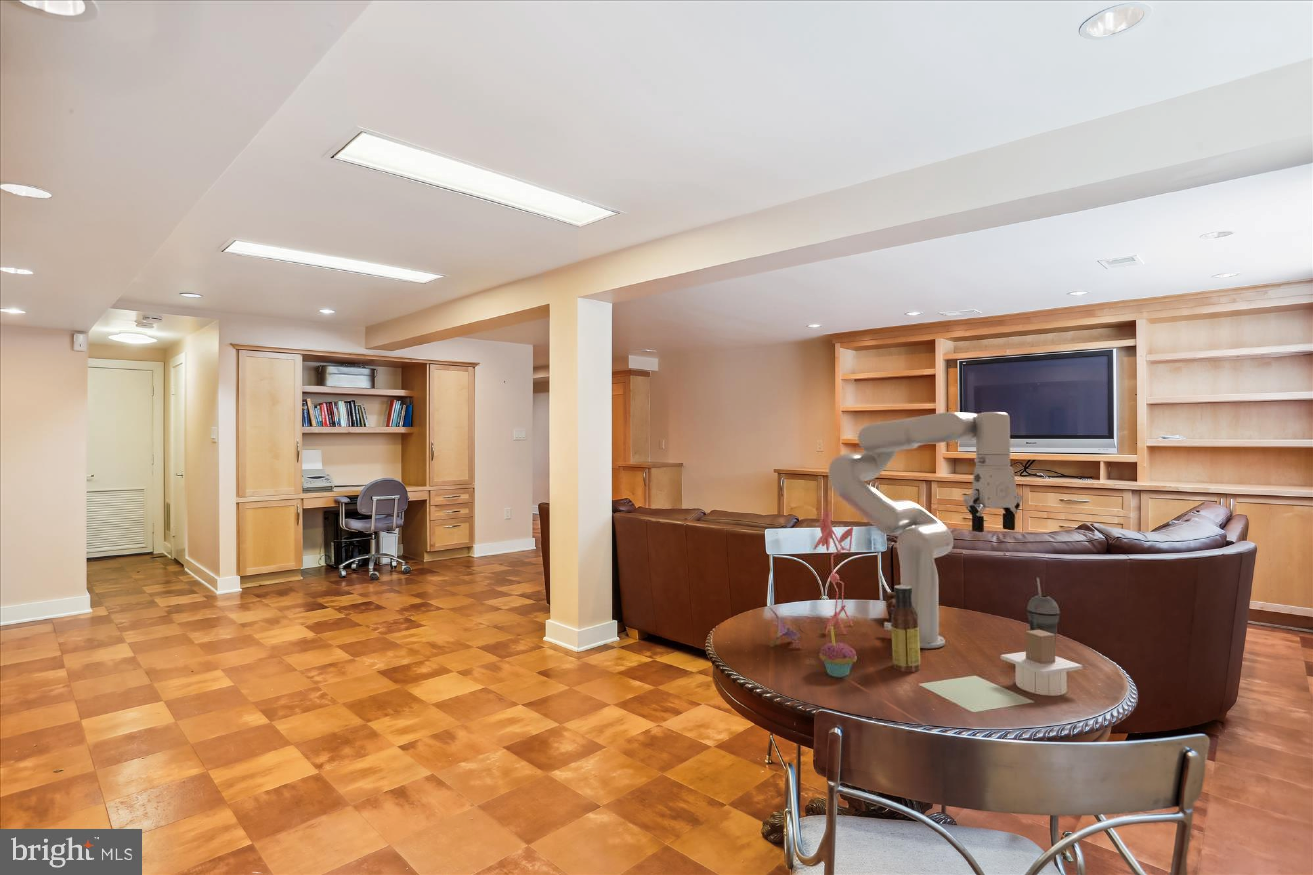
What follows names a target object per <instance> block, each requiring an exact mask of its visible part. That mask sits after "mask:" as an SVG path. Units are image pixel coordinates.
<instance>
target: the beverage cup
mask: <svg viewBox="0 0 1313 875" xmlns="http://www.w3.org/2000/svg"><path fill="white" fill-rule="evenodd" d="M1040 583H1041V582H1040V578H1039V577H1036V584H1037V591H1038V595H1035V596H1033V597H1031V599H1030V600H1029V602H1028V604H1027V606H1026V607H1027V608H1026V611H1027V617H1028V624H1029V631H1032V630H1042V631H1046V632H1049V633H1052V634H1055V645H1056V641H1057V632H1058V622H1059V619H1060V615H1061V612H1060V608H1059V605H1058V604H1057V602H1056V601H1055V600H1054V599H1053V598H1052V597H1051V596H1048V595H1046V594H1042V590H1041V584H1040Z"/></svg>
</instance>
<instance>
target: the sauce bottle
mask: <svg viewBox="0 0 1313 875" xmlns="http://www.w3.org/2000/svg"><path fill="white" fill-rule="evenodd" d="M893 592H894V593H895V607H894V608H893V610H892V612H891V620H890V623H891V631H890V633H891V649H892V652H891V653H892V663H893V664H892V665H893V668H895V669H896V670H897V671H899V672H906V673H915V672H920V670H921V665H920V664H921V651H920V650H921V648H920V644H919V626H918V615H917V613H916V611H915V609H914V607H913V606H912V596H911V594H912V587H911V586H906V585H901V584H899V585H898V584H897V585H894V587H893Z"/></svg>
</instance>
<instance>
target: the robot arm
mask: <svg viewBox="0 0 1313 875" xmlns="http://www.w3.org/2000/svg"><path fill="white" fill-rule="evenodd" d="M1010 421H1011V418H1010V415H1009V414H1008V412H1004V411H988V412H987V411H985V412H981V413H974V412H964V411H963V412H959V411H946V412H940V413H932V414H928V415H927V414H926V415H920V416H914V417H909V418H908V417H907V418H902V419H896V420H890V421H889V420H888V421H881V422H875V423H870V424H867V425H865V426H863V427H862V428H861V429H860V431H859V433H858V436H857V441H858V442H857V443H858V444H859V446H860V447H861V449H862V450H864V451H863V452H855V453H854V452H852V453H851V452H849V453H843V454H840V455H838V456H836V457H834V458H833V459H832V460H831V462H830V463H829V466H828V479H829V483H830V485H831V488H832V489H833V491H834V492H835V494H836V495H837V496H838V497H839V498H840V499H841V500H842V501H844V503H846V504H847V505H848V506H850V507H851V508H852V509H854V510H855V511H856V512H857V513H858V514H860V516H862V518H864V520H866V521H867V522H869V523H870V524H871V525H872V526H874V528H876V529H877V530H878V531H880V532H881V533H882V534H883V535H888V536H892V535H898V537H897V541H896V550H897V554H898V560H899V570H900V585H906V586H911V587H912V594H911V596H912V606H913V607H914V609H915V611H916V613H917V615H918V626H919V644H920V649H938V648H941V647H944V646H945V645H946V639H945V638H944V637H943V636H941V635H939V634H940V629H939V628H940V626H939V624H940V622H939V619H940V618H939V612H940V611H939V609H940V608H939V574H938V573H939V572H938V569H937V565H936V562H935V559H936V558H940V557H943V556H945V555H947V554H949V552H951V550H952V549H953V547H954V536H953V534H952V531H951V530H950V529H949V527H947V526H946V525H945V524H944V523H943V522H941V520H939V519H937V518H936V517H935V516H933V515H932V514H931V513H930V512H929V511H927V510H926V509H925V508H923V507H921V506H920V505H919V504H917V503H915V502H914V501H912V500H908V499H894V500H893V499H890V498H888V497H887V496H885V495H884V494H883V493H881V491H879V490H878V489H876V487H874V486H872V485H870V484H869V483H866V482H867V481H872V480H874V479H876V478H877V477H878V476H879V475H880V474H881V473H882V472H883V471H884V470H885V468H886V467H887V465H889V463H890V462H891V461H892V460H893V459H894V457H895V456H896V454H897V453H898V452H899V451H905V450H914V449H917V448H918V447H920V446H923V445H931V444H939V443H948V442H949V443H954V442H961V443H962V442H972V441H976V442H975V448H976V449H975V450H976V451H975V454H976V455H975V458H974V460H973V461H974V463H975V467H974V471H973V477H972V485H971V493H969V494H968V495H966V496H964V497H963V502H964V504H965V509H966V510H967V511H968V512H969V515H970V516H971V531H972V532H976V533H984V531H985V519H984V515H983V513H984V512H985V510H986V509H1002V510H1003V512H1002V529H1003V530H1008V531H1016V515H1017V513H1018V510H1019V508H1020V507H1021V502H1022V500H1023V496H1022V495H1021V494H1019V493H1018V492H1017V484H1016V476H1015V471H1014V469H1013V467H1011V422H1010ZM883 627H884V628H883V629H884V630H887V632H891V622H887V621H885V622H884V623H883Z"/></svg>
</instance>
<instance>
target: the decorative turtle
mask: <svg viewBox="0 0 1313 875" xmlns="http://www.w3.org/2000/svg"><path fill="white" fill-rule="evenodd" d="M884 597H885V598H884V599H885V606H886V608H885V609H886V611H887V615H888V619H889V620H890V621H891V612H892V610H893V608H894V607H895V592H894V591H888V592H887V593H886V594H885V596H884Z"/></svg>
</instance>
